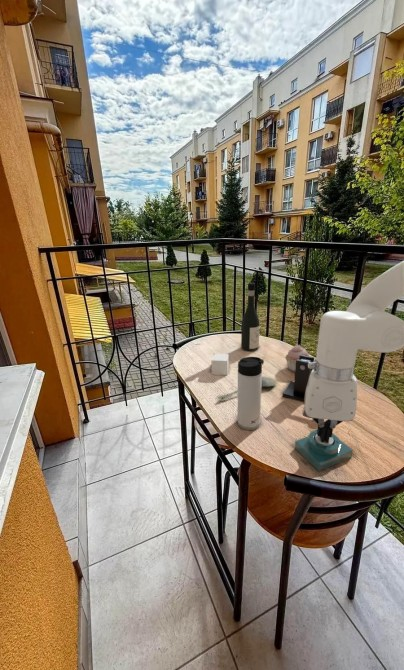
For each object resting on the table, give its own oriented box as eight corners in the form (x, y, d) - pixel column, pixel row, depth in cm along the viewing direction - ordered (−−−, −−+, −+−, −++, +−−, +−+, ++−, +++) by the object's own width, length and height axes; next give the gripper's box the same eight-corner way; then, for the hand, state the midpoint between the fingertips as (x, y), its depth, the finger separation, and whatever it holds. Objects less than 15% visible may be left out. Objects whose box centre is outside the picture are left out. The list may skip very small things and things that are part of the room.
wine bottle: (262, 347, 129) (264, 282, 119) (252, 353, 124) (254, 285, 113) (247, 343, 134) (248, 281, 124) (237, 349, 129) (238, 283, 118)
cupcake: (315, 371, 106) (317, 347, 102) (294, 376, 103) (296, 351, 99) (299, 361, 114) (301, 339, 110) (279, 366, 111) (281, 342, 108)
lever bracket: (320, 391, 93) (325, 356, 88) (314, 405, 86) (319, 367, 81) (290, 384, 98) (293, 350, 94) (282, 396, 91) (285, 361, 87)
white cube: (211, 374, 107) (211, 360, 105) (213, 367, 112) (213, 353, 110) (227, 375, 106) (227, 360, 104) (228, 368, 111) (228, 354, 109)
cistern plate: (325, 436, 73) (327, 423, 72) (351, 457, 66) (354, 443, 65) (294, 448, 70) (295, 434, 68) (318, 471, 63) (320, 457, 61)
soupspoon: (279, 388, 97) (266, 381, 102) (279, 379, 96) (266, 372, 102) (225, 405, 87) (214, 396, 93) (225, 396, 86) (214, 387, 92)
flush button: (323, 436, 69) (324, 430, 69) (336, 447, 66) (337, 441, 65) (310, 441, 68) (311, 435, 67) (323, 452, 64) (324, 446, 64)
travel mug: (259, 433, 75) (261, 366, 68) (235, 428, 77) (235, 363, 70) (262, 419, 81) (265, 355, 74) (240, 414, 83) (240, 353, 76)
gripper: (298, 374, 58) (291, 445, 64) (378, 380, 55) (363, 454, 61) (295, 359, 65) (289, 424, 71) (366, 363, 62) (353, 431, 68)
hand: (323, 438), depth 66 cm, fingers closed
